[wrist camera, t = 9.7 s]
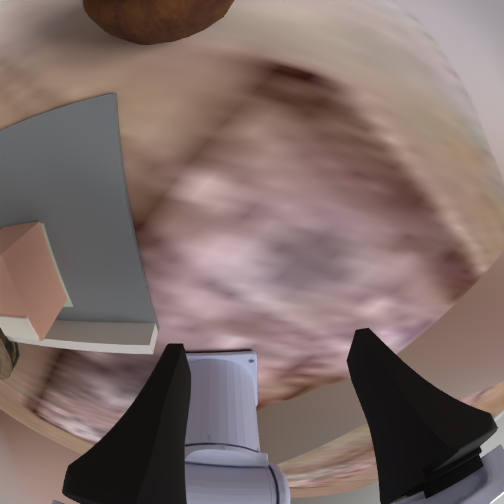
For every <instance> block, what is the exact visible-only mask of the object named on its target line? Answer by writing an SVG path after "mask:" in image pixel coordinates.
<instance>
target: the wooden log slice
mask: <svg viewBox="0 0 504 504" xmlns="http://www.w3.org/2000/svg"><path fill="white" fill-rule="evenodd" d="M18 358H19V351H18V345H17V342H14V341H9V339H8V338H7V336H5V334H4V333H3V331H2V329H1V328H0V379H2V380H3V379H6V378H9V376H10V374H11V372H12V370H13V368H14V366H15V365H16V363H17V360H18Z"/></svg>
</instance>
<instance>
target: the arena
mask: <svg viewBox="0 0 504 504" xmlns="http://www.w3.org/2000/svg"><path fill="white" fill-rule="evenodd" d="M37 221H40V222H41V226H42V229H43V233H44V236H45V239H46V242H47V245H48V248H49V251H50V254H51V257H52V260H53V263H54V266H55V268H56V271H57V274H58V276H59V279H60V282H61V284H62V287H63V289H64V292H65V294H66V296H67V301H66V303H65V304H64V306H63V307H62V309H61V311H60V312H59V314H58V316H57V317H56V319H55V321H54V322H53V324H52V326H51V328H50V329H49V331H48V333H47V335H46V336H45V338H44V340H43V341H39V340H30V339H23V338H16V337H10V336H7V338H8V339H9V341H14V342H20V343H26V344H33V345H40V346H47V347H55V348H64V349H73V350H84V351H96V352H110V353H130V354H153V352H154V347H155V343H156V339H157V334H158V330H159V325H158V322H157V319H156V315H155V312H154V308H153V305H152V301H151V298H150V294H149V290H148V286H147V282H146V278H145V274H144V270H143V266H142V262H141V258H140V253H139V249H138V244H137V240H136V235H135V230H134V225H133V220H132V215H131V209H130V204H129V198H128V192H127V186H126V179H125V173H124V165H123V158H122V150H121V141H120V132H119V121H118V109H117V94H116V93H111V94H107V95H103V96H99V97H95V98H91V99H87V100H83V101H80V102H76V103H73V104H70V105H66V106H63V107H60V108H57V109H54V110H51V111H48V112H45V113H42V114H40V115H37V116H34V117H31V118H29V119H26V120H24V121H21V122H19V123H16V124H14V125H12V126H9V127H7V128H5V129H3V130H0V230H1V229H2V228H3V227H7V226H13V225H18V224H24V223H30V222H37Z"/></svg>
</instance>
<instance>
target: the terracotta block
mask: <svg viewBox="0 0 504 504" xmlns="http://www.w3.org/2000/svg"><path fill="white" fill-rule="evenodd" d="M66 301H67V296H66V294H65V292H64V289H63V287H62V284H61V282H60V279H59V276H58V274H57V271H56V268H55V266H54V263H53V260H52V257H51V254H50V251H49V248H48V245H47V242H46V239H45V236H44V233H43V229H42V226H41V222H40V221H37V222H30V223H24V224H18V225H13V226H7V227H3V228H2V229H1V230H0V328H1V329H2V331H3V333H4V334H5V336H10V337H16V338H23V339H30V340H39V341H43V340H44V338H45V336H46V335H47V333H48V331H49V329H50V328H51V326H52V324H53V322H54V321H55V319H56V317H57V316H58V314H59V312H60V311H61V309H62V307H63V306H64V304H65V303H66Z"/></svg>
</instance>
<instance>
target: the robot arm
mask: <svg viewBox="0 0 504 504" xmlns="http://www.w3.org/2000/svg"><path fill="white" fill-rule="evenodd" d="M250 359H252V360H250ZM347 364H348V368H349V372H350V376H351V380H352V383H353V385H354V388H355V391H356V393H357V396H358V398H359V401H360V403H361V406H362V409H363V411H364V414H365V417H366V419H367V422H368V425H369V429H370V433H371V437H372V442H373V446H374V451H375V457H376V463H377V470H378V478H379V490H380V502H381V504H392V503H393V504H491V503H492V502H493V501H495V500H496V499H497V498H498V497H500V496H501V495H502V494H503V493H504V449H503V447H502V445H499V446H498V447H496V448H495V449H494V450H492V451H491V452H489V453H487V454H486V455H485V456H483V457H482V458H480V456H479V454H480V453H481V452H482V450H481V448H480V446H481V445H482V444H483V443H484V442H485V441H486V440H488V439H489V438H490V437H491V436H492V435H493V434H494V433H495V432H496V431H497V428H498V427H497V425H496V423H495V421H494V419H493V417H492V415H491V414H490V413H488V412H485V411H482V410H480V409H477V408H474V407H472V406H469V405H467V404H465V403H463V402H461V401H459V400H457V399H455V398H453V397H451V396H449V395H448V394H446V393H444V392H443V391H441V390H439V389H438V388H436V387H435V386H433V385H432V384H431V383H429V382H428V381H426V380H425V379H424V378H422V377H421V376H420V375H419V374H417V373H416V372H415V371H414V370H413V369H411V368H410V367H409V366H408V365H407V364H405V363H404V362H403V361H402V360H401V359H400V358H399V357H398V356H397V355H396V354H395V353H394V352H393V351H392V350H391V349H389V348H388V347H387V346H386V345H385V344H384V343H383V342H382V341H381V340H380V339H379V338H378V337H377V336H376V335H375V334H374V333H373V332H372V331H371V330H370V329H369V328H365V329H358V330H356V331H355V335H354V338H353V341H352V345H351V348H350V351H349V355H348V358H347ZM256 406H257V355H256V353H255V352H254V351H242V352H221V353H185V349H184V346H183V344H168V345H167V346H166V348H165V350H164V352H163V354H162V356H161V358H160V360H159V361H158V363H157V365H156V367H155V369H154V370H153V372H152V374H151V376H150V377H149V379H148V381H147V382H146V384H145V386H144V387H143V389H142V390H141V392H140V393H139V395H138V396H137V398H136V399H135V401H134V402H133V403H132V405H131V406H130V407H129V409H128V410H127V411H126V413H125V414H124V415H123V416H122V417H121V419H120V420H119V421H118V422H117V423H116V424H115V425H114V427H113V428H112V429H111V430H110V431H109V432H108V433H107V434H106V435H105V436H104V437H103V438H102V439H101V440H100V441H99V442H98V443H96V444H95V445H94V446H93V447H92V448H91V449H90V450H89V451H87V452H86V453H85V454H84V455H82V456H81V457H80V458H78V459H77V460H75V461H74V462H73V463H71V464H70V465H69V466H68V469H67V471H66V475H65V480H64V484H63V490H62V493H63V494H64V495H65V496H66V497H68V498H70V499H72V500H74V501H76V502H78V503H80V504H290V490H289V485H288V481H287V479H286V476H285V475H284V473H283V472H282V471H281V470H280V469H279V467H278V466H277V465H275V464H272V463H268V455H267V453H260V446H259V438H258V437H259V436H258V427H257V416H256ZM405 498H406V499H405ZM400 500H401V501H400ZM52 504H64V503H61V502H59V501H56V500H53V503H52Z"/></svg>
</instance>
